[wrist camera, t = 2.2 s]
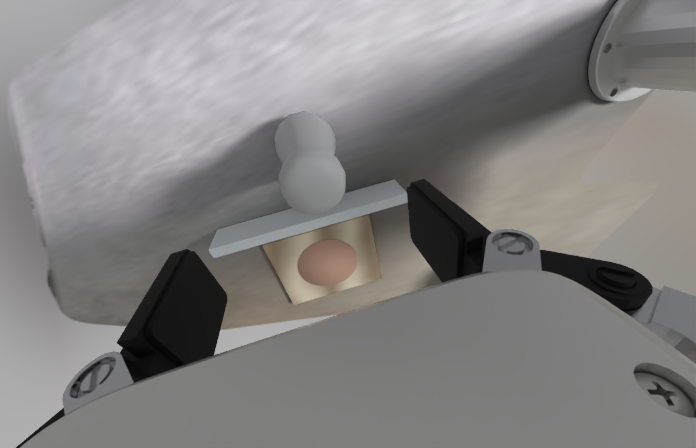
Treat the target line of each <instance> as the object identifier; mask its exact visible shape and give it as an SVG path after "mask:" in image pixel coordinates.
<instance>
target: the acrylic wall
mask: <svg viewBox="0 0 696 448" xmlns="http://www.w3.org/2000/svg"><path fill="white" fill-rule="evenodd" d="M404 203H408V198H407V192H406V191H405V190H404V189H403V188H402V187H401V186H400V185H399V183H398V182H397V181H396V180H395V179H393V180H390V181H386V182H383V183H379V184H376V185H372V186H368V187H365V188H361V189H358V190H354V191H351V192H347V193H344V195H343V197H342V199H341V201H340V203H339V204H337V205H336V206H335V207H333V208H332V209H331V210H330V211H327V212H324V213H321V214H317V215H312V214H304V213H301V212H299V211H297V210H295V209H293V208H291V209H287V210H284V211H280V212H277V213H273V214H270V215H266V216H263V217H259V218H256V219H252V220H248V221H245V222H241V223H238V224H234V225H231V226H227V227H224V228H220V229H217V232H216V234H215V236H214V238H213V241H212V243H211V245H210V247H209V252H210V253H211V255H212V256H213V258H217V257H221V256H224V255H227V254H231V253H234V252H238V251H241V250H245V249H248V248H252V247H255V246H259V245H262V244H266V243H269V242H273V241H276V240H280V239H283V238H286V237H290V236H293V235H297V234H300V233H304V232H307V231H311V230H314V229H318V228H321V227H325V226H328V225H332V224H335V223H339V222H342V221H345V220H349V219H352V218H356V217H359V216H363V215H366V214H370V213H373V212H377V211H380V210H384V209H387V208H391V207H394V206H398V205H401V204H404Z"/></svg>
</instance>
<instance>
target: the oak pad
mask: <svg viewBox="0 0 696 448" xmlns="http://www.w3.org/2000/svg"><path fill="white" fill-rule="evenodd" d="M262 246H263V248H264V250H265V252H266V254H267V256H268V258H269V259H270V261H271V263H272V265H273V267H274V269H275V271H276V273H277V274H278V276H279V278H280V280H281V282H282V284H283V286H284V288H285V289H286V291H287V293H288V295H289V297H290V299H291V301H292V303H293V304H294V305H296V304H299V303H302V302H306V301H309V300H312V299H316V298H319V297H322V296H326V295H329V294H332V293H336V292H339V291H342V290H346V289H349V288H352V287H356V286H359V285H362V284H366V283H369V282H372V281H376V280H379V279H382V278H381V273H380V268H379V263H378V258H377V252H376V247H375V242H374V237H373V232H372V227H371V222H370V216H369V214H366V215H363V216H359V217H356V218H352V219H349V220H345V221H342V222H339V223H335V224H332V225H328V226H325V227H321V228H318V229H314V230H311V231H307V232H304V233H300V234H297V235H293V236H290V237H286V238H283V239H280V240H276V241H273V242H269V243H266V244H262Z"/></svg>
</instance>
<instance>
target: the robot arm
mask: <svg viewBox="0 0 696 448" xmlns="http://www.w3.org/2000/svg"><path fill="white" fill-rule="evenodd" d="M588 78H589V83H590V87H591V89H592V91H593V93H594V94H595V95H596V96H597V97H598V98H600V99H602V100H605V101H612V102H625V101H629V100H632V99H635V98H637V97H639V96H641V95H644V94H645V93H647V92H648V91H650V90H651V89H662V90H676V91H691V92H696V0H618V1H617V2H616V3H615V5H614V6H613V8H612V9H611V10H610V12H609V14H608V15H607V17H606V19H605V21H604V22H603V24H602V26H601V28H600V30H599V32H598V35H597V37H596V39H595V42H594V45H593V48H592V51H591V55H590V60H589V66H588ZM407 198H408V210H409V222H410V233H411V239H412V241H413V243H414V244H415V246H416V247H417V248H418V250H419V251H420V253H421V254H422V255H423V257H424V258H425V260H426V261H427V262H428V264H429V265H430V266H431V268H432V269H433V271H434V272H435V273H436V275H437V276H438V277H439V279H440V280H441V282H442V283H438V284H435V285H432V286H429V287H426V288H422V289H419V290H416V291H412V292H409V293H406V294H403V295H400V296H396V297H393V298H390V299H387V300H384V301H381V302H377V303H374V304H371V305H368V306H365V307H362V308H359V309H355V310H352V311H349V312H346V313H343V314H340V315H337V316H333V317H330V318H327V319H324V320H321V321H318V322H315V323H312V324H309V325H306V326H302V327H299V328H296V329H293V330H290V331H287V332H284V333H281V334H278V335H275V336H272V337H269V338H265V339H262V340H259V341H256V342H253V343H250V344H247V345H244V346H241V347H238V348H235V349H232V350H229V351H226V352H223V353H220V354H217V355H214V352H215V348H216V344H217V340H218V336H219V332H220V328H221V324H222V320H223V316H224V312H225V308H226V304H227V295H226V293H225V291H224V290H223V288H222V287H221V286H220V284H219V283H218V282H217V280H216V279H215V278H214V276H213V275H212V274H211V272H210V271H209V270H208V268H207V267H206V266H205V264H204V263H203V262H202V260H201V259H200V258H199V256H198V255H197V254H196V253H195V252H194V251H190V250H188V249H186V250H182V251H179V252H175V253H172V254H171V255H170V256H169V258H168V259H167V261H166V263H165V264H164V266H163V268H162V269H161V271H160V273H159V274H158V276H157V278H156V279H155V281H154V282H153V284H152V286H151V287H150V289H149V291H148V292H147V294H146V296H145V297H144V299H143V300H142V302H141V304H140V305H139V307H138V309H137V310H136V312H135V314H134V315H133V317H132V319H131V320H130V322H129V323H128V325H127V327H126V328H125V330H124V332H123V333H122V335H121V337H120V338H119V340H118V342H117V343H118V344H119V345H120V346H122V347H123V349H122V350H121V352H120V353H119V352H110V353H106V354H104V355H102V356H100V357H98V358H96V359H95V360H93V361H92V362H90V363H89V364H88V365H86V366H85V367H84V368H83V369H82V370H81V371H80V372H79V373H78V374H77V375H76V376H75V377H74V378H73V379H72V381H71V382H70V383H69V385H68V386H67V388H66V390H65V392H64V394H63V405H64V408H63V409H62V410H60V411H59V412H58V413H57V414H56V415H55V416H53V417H52V418H51V419H50V420H49V421H47V422H46V423H45V424H44V425H43V426H41V427H40V428H39V429H38V430H37V431H35V432H34V433H33V434H32V435H30V436H29V437H28V438H27V439H26V440H25V441H24V442H22V443H21V444H20V445H18V446H17V447H16V448H696V297H695V296H692V295H689V294H686V293H683V292H680V291H677V290H674V289H671V288H668V287H665V286H663V288H662V289H661V290H659V289H657V288H654V287H652V285H651V284H650V282H649V281H648V280H647V279H646V278H645V277H644V276H643V275H641V274H640V273H638V272H636V271H635V270H633V269H631V268H628V267H626V266H623V265H620V264H616V263H612V262H607V261H602V260H596V259H590V258H585V257H579V256H574V255H568V254H563V253H557V252H551V251H546V250H540V246H539V243H538V241H537V240H536V239H535V238H534V237H532V236H531V235H529V234H527V233H524V232H522V231H518V230H513V229H503V230H497V231H495V232H492V233H491V232H490V231H489V230H488V229H486V228H485V227H484V226H483V225H481V224H480V223H479V222H478V221H476V220H475V219H474V218H473V217H471V216H470V215H469V214H468V213H467V212H465V211H464V210H463V209H462V208H460V207H459V206H458V205H457V204H455V203H454V202H452V201H451V200H450V199H448V198H447V197H446V196H445V195H443V194H442V193H441V192H440V191H438V190H437V189H436V188H435V187H434V186H432V185H431V184H430V183H429V182H427V181H426V180H425V179H422V180H419V181H415V182H412V183H411V184H410V187H407Z"/></svg>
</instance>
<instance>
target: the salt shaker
mask: <svg viewBox="0 0 696 448" xmlns="http://www.w3.org/2000/svg"><path fill="white" fill-rule="evenodd" d="M274 142H275V148H276V153H277V155H278V156H279V158H280V160H281V162H282V163H283V165H282V168H281V170H280V173H279V176H278V178H279V185H280V191H281V194H282V196H283V198H284V199H285V200H286V202H287V203H288V205H289V206H290V207H292V208H293V209H295V210H297V211H299V212H301V213H304V214H312V215H317V214H321V213H324V212H327V211H330V210H331V209H332V208H333V207H335V206H336V205H337V204H339V203H340V201H341V199H342V197H343V195H344V193H345V186H346V173H345V171H344V169H343V167H342V166H341V164H340V162H339V160H338V158H337V157H335V135H334V133H333V131H332V129H331V127H330V124H329V123H328V122H326V121H325V120H324V119H323V118H321V117H320V116H319V115H318V114H314V113H309V112H305V111H302V112H298V113H294V114H290V115H289V116H288V117H286V118H285V119H284V120H283V121H282V122H281V123H280V124H279V126H278V128H277V131H276V134H275V137H274Z"/></svg>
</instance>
